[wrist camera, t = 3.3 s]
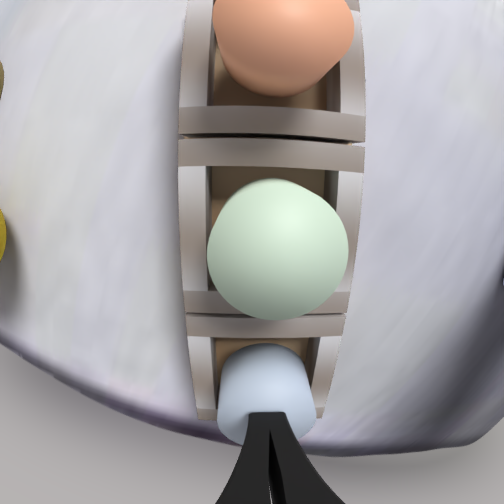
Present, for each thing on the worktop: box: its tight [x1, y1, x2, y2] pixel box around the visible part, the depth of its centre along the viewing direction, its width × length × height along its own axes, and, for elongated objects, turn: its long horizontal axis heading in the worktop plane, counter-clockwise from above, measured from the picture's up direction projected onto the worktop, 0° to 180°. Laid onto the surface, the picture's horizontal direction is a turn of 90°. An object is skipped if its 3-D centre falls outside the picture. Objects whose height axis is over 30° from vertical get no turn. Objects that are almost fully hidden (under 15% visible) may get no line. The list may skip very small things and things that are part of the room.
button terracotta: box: [212, 0, 354, 97], centre depth 7 cm, size 4×4×3 cm
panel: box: [178, 0, 366, 421], centre depth 12 cm, size 22×7×3 cm, turn 179°
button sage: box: [207, 178, 349, 320], centre depth 10 cm, size 4×4×3 cm
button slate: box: [217, 343, 316, 445], centre depth 12 cm, size 4×4×3 cm
